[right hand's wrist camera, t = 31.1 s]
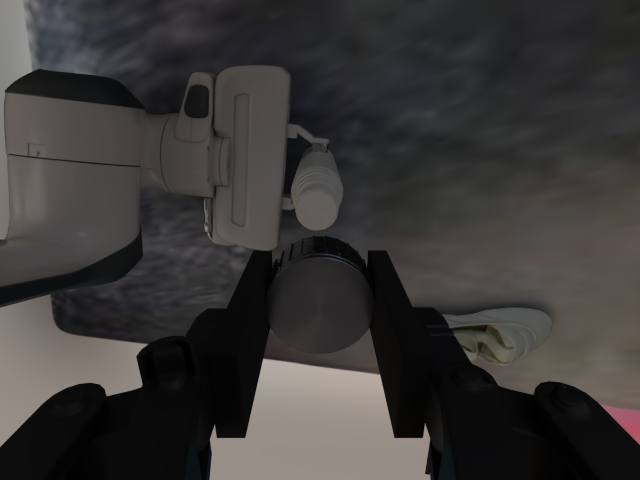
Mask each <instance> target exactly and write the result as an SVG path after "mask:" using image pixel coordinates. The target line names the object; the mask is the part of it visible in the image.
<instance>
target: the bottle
mask: <svg viewBox="0 0 640 480" xmlns="http://www.w3.org/2000/svg"><path fill="white" fill-rule="evenodd" d="M291 196H292V201H293V204H294V206H295V212H296V216H297V218H298V220H299V222H300V223H301V224H302V225H303V226H305V227H306V228H308V229H311V230H324V229H326V228H328V227H330V226H331V225H332V224H333V223H334V222H335V220H336V218H337V216H338V208H339V206H340V204H341V202H342V198H343V186H342V183H341V179H340V176H339V173H338V169H337V166H336V163H335V159H334V156H333V154H332V153H331V151H330V150H329V149H328V152H327V153H323V152H321V151H318V152H315V151H312V147H310V148H308V149H307V150H306V151H305V152H304V153H303V155H302V157H301V160H300V163H299V166H298V169H297V172H296V175H295V178H294V181H293V183H292V187H291Z"/></svg>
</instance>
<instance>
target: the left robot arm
mask: <svg viewBox="0 0 640 480" xmlns="http://www.w3.org/2000/svg"><path fill="white" fill-rule="evenodd" d="M291 89H292V77H291V75H290V74H289V72H288V71H287V70H286V69H285V68H283V67H278V66H267V65H245V66H234V67H229V68H227V69H225V70H223V71H222V72H220V73H219V75H217V74H214V73H210V72H203V71H202V72H194V73H193V74H192V75H191V76H190V78H189V81H188V85H187V89H186V92H185V96H184V99H183V103H182V106H181V109H180V112H179V113H168V114H162V115H155V114H150V113H147V112H145V108H144V106H143V105H142V104H141V103H140V101H139V100H138V99H137V98H136V97H135V96H134V95H133V94H132V93H131V92H130V91H129V90H128V89H127V88H126V87H125V86H124V85H123V84H122V83H120V82H118V81H116V80H114V79H111V78H107V77H102V76H95V75H86V74H75V73H65V72H56V71H49V70H43V69H38V70H35V71H33V72H31V73H29V74H27V75H25V76H23V77H21V78H19V79H18V80H16V81H15V82H14V83H12V84H11V85H10V86H9V87H8V88H7V89H6V90H5V100H4V128H5V145H6V153H9V154H7V166H8V185H9V206H10V221H9V228H8V233H7V236H6V238H5V240H0V307H4V306H8V305H12V304H15V303H19V302H23V301H26V300H30V299H34V298H38V297H41V296H45V295H49V294H52V293H56V292H60V291H64V290H69V289H75V288H82V287H91V286H97V285H102V284H107V283H111V282H115V281H117V280H119V279H120V278H122V277H123V276H125V275H126V274H127V273H128V272H129V271H130V270H131V269H132V268H133V267H134V266H135V265H136V264H137V263H138V262H139V261H140V259H141V258H142V256H143V247H142V234H141V226H140V189H144V188H157V189H161V190H163V191H166V192H168V193H173V194H182V195H191V196H200V197H203V198H204V199H203V202H204V217H205V221H204V231H205V232H206V233H207V234H208V236H209V238H210V239H211V240H212V241H213V242H214V243H215V244H218V245H227V246H232V245H238V246H242V247H246V248H250V249H256V250H262V251H271V250H272V249H274V248H276V247H277V246H278V244H279V240H280V234H281V221H282V209H285V210H292V209H294V208H295V206H294V204H293V201H292V196H291V194H285V193H284V181H285V168H286V155H287V142H288V138H297V137H298V134H300V135H301V136H302V137H304V138H305V139H306V140H308V141H309V142H310V143H312V151H315V152H318V151H321V152H323V153H327V152H328V144H329V138H323V137H315V136H313V135H312V134H311V133H310V132H308V131H307V130H306V129H304V128H303V127H302V126H300V125H299V124H291V123H289V116H290V103H291ZM211 232H213V236H212V235H211Z"/></svg>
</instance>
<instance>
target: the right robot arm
mask: <svg viewBox="0 0 640 480" xmlns="http://www.w3.org/2000/svg"><path fill="white" fill-rule="evenodd" d="M271 269H273V267H272V251H253V253H252V255H251V257H250V259H249V261H248V263H247V266H246V268H245V270H244V272H243V274H242V276H241V278H240V281H239V283H238V285H237V287H236V289H235V291H234V294H233V296H232V298H231V300H230V302H229V304H228V307H227V309H206V310H205V311H204V312H202V313H201V314H200V315H199V316H197V317H196V319H195V320H194V322H193V324H192V326H191V329H189V331H188V332H187V334H186V337H184V336H170V337H165V338H161V339H158V340H156V341H154V342H152V343H150V344H148V345H147V346H146V347H144V348H143V349H142V350H141V351H140V352H139V354H138V355H137V361H138V366H139V370H140V375H141V379H142V383H143V385H142V387H141V388H138V389H135V390H132V391H128V392H124V393H119V394H115V395H111V396H106V393H105V389H104V388H103V387H102V386H100V385H99V384H94V383H84V384H78V385H75V386H72V387H69V388H66V389H64V390H62V391H60V392H58V393H57V394H55V395H53V396H52V397H51V398H49V399H48V400H47V401H46V402H44V403H43V404H42V405H41V406H40V407H39V408H38V409H37V410H36V411H35V412H34V413H33V414H32V415H31V416H30V417H29V418H28V419H27V420H26V421H25V423H23V425H22V426H21V427H20V428H19V429H18V430H17V431H16V432H15V433H14V434H13V435H12V436H11V437H10V438H9V439H8V440H7V441H6V442H5V443H4V444H3V445H2V446H1V447H0V480H209V478H210V466H211V456H212V452H211V445H210V437H211V434H212V431H213V428H214V425H215V428H216V435H217V438H245V436H246V432H247V428H248V423H249V419H250V414H251V410H252V405H253V401H254V396H255V392H256V388H257V383H258V379H259V374H260V370H261V366H262V361H263V357H264V352H265V348H266V343H267V339H268V335H269V330H270V325H269V324H268V321H267V318H266V309H265V295H266V291H267V289H266V286H267V283H268V280H269V276H270V273H271ZM367 269H368V270H369V274H370V277H371V280H372V284H373V287H374V288H373V293H374V297H375V306H374V318H373V320H372V323H371V325H370V331H371V335H372V340H373V344H374V349H375V353H376V358H377V362H378V367H379V371H380V375H381V380H382V384H383V389H384V393H385V397H386V402H387V406H388V411H389V415H390V420H391V424H392V428H393V433H394V437H395V438H423V433H424V426H425V424H426V427H427V430H428V433H429V436H430V445H429V451H428V458H427V465H426V472H425V474H428V475H429V474H430V477H431V480H640V445H639V444H638V443H637V442H636V441H635V440H634V439H633V438H632V437H631V436H630V435H629V434H628V433H627V432H626V431H625V430H624V429H623V428H622V427H621V426H620V425H619V424H618V423H617V422H616V421H615V420H614V419H613V418H612V416H611V415H610V414H609V413H608V412H607V411H606V410H605V409H604V408H603V407H602V406H601V405H600V404H599V403H598V402H597V401H595V400H594V399H593V398H592V397H590V396H589V395H588V394H587V393H585V392H583V391H581V390H579V389H577V388H575V387H573V386H570V385H567V384H564V383H560V382H551V381H549V382H544V383H540V384H539V385H538V386H537V387H536V388H535V392H534V395H531V394H527V393H522V392H518V391H514V390H510V389H506V388H503V387H500V386H498V385H497V383H496V381H495V380H494V378H493V377H492V376H491V375H490V374H489V373H488V372H486V371H485V370H484V369H482V368H480V367H478V366H476V365H473V364H472V363H471V362H470V360H469V358H468V357H467V355H466V353H465V352H464V350H463V348H462V346H461V345H460V343H459V341H458V340H457V338H456V336H454V333H453V331H452V330H451V328H449V325H448V323H447V321H446V319H445V318H444V316H443V315H441V314H440V313H439V312H438V311H436V310H435V309H434V308H413V307H412V305H411V303H410V301H409V298H408V296H407V294H406V292H405V290H404V288H403V285H402V283H401V281H400V279H399V277H398V275H397V273H396V270H395V268H394V266H393V264H392V262H391V260H390V257H389V255H388V253H387V251H368V263H367Z"/></svg>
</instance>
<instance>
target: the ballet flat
mask: <svg viewBox="0 0 640 480" xmlns="http://www.w3.org/2000/svg"><path fill="white" fill-rule="evenodd" d="M441 315H443V316H444V318H445V319H446V321H447V323H448V325H449V328H451V330H452V331H453V333H454V336H456V338H457V340H458V341H459V343H460V345H461V346H462V348H463V350H464V352H465V353H466V355H467V357H468V358H469V360H470V361H475V360H476V358H480V359H481V360H483V361H485V362H486V363H488V364H497V365H500V366H507V365H510V364H512V363H513V362H514V361H515V360H518V359H521V358H524V357H525V356H526V355H527V354H528V353H529V352H531V351H533V350H534V349H535V348H537V347H538V346H539V345H541V344H542V343H543V342H544V341H545V340H546V339H547V338H548V336H549V334H550V331H551V328H552V320H551V318H550V317H549V316H548V315H547V314H546V313H544V312H542V311H540V310H536V309H530V308H519V307H505V308H498V309H490V310H485V311H481V312H478V313H474V314H466V315H458V316H456V315H450V314H441ZM482 358H483V359H482ZM487 359H492V360H491V361H489V360H487Z"/></svg>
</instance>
